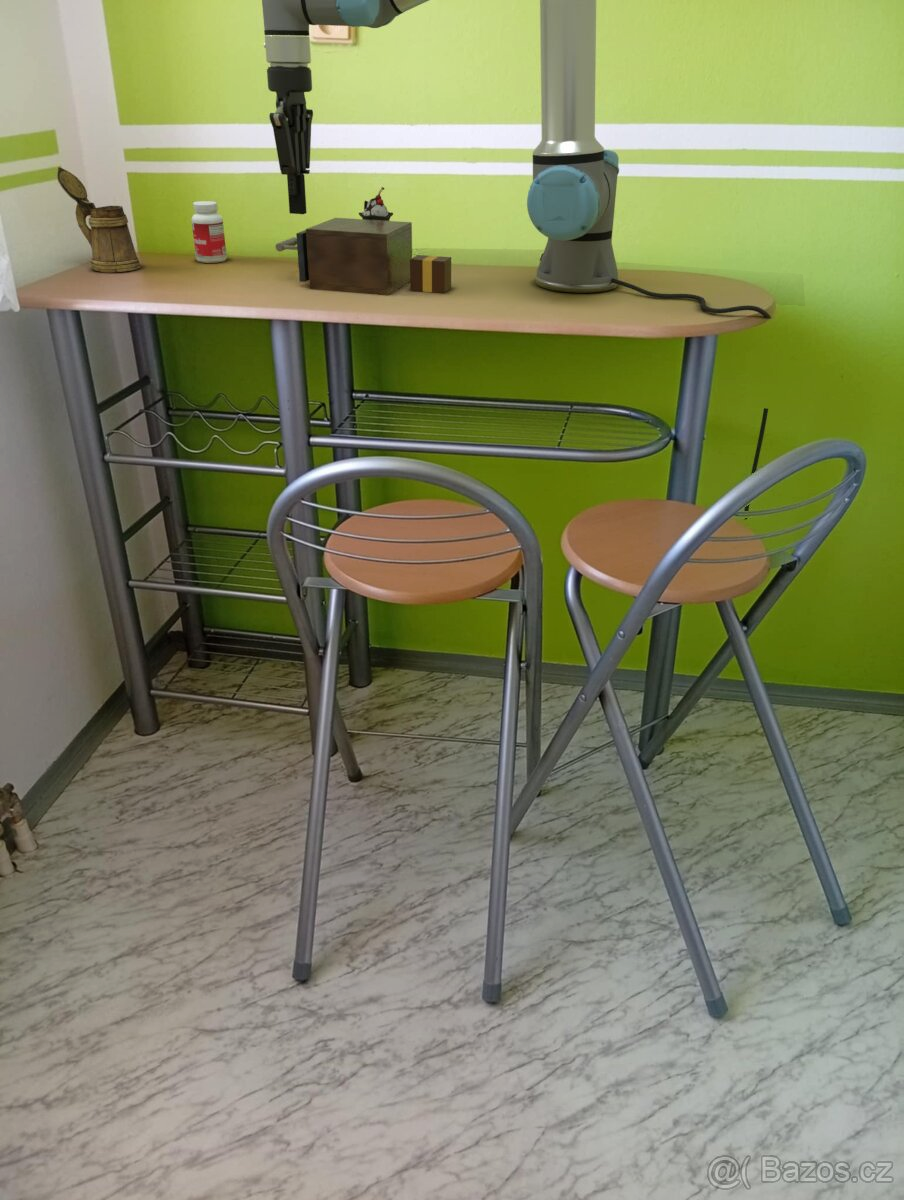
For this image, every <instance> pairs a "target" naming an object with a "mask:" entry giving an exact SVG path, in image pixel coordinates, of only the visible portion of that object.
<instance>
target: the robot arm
mask: <svg viewBox="0 0 904 1200" xmlns="http://www.w3.org/2000/svg"><path fill="white" fill-rule="evenodd" d="M429 1H430V0H261V6H262V17H263V28H264V30H263V31H264V32H263V33H264V42H263V48H264V49H265V58H266V59H265V60H266V62H267V63H268V64H269V65H270V66H267V69H266V78H267V89H268V90H269V91H270V92H273V93H276V94H275V95H276V97H275V108H276V110H275V112H270V113H269V116H268V117H269V122H270V123H271V127H272V130H273V136H274V137H273V138H274V142H275V148H276V154H277V159H278V166H279V170H280V173H281V175H282V176H283V175H285V176H286V179H287V181H286V182H287V195H288V196H287V197H288V211H289V214H290V215H291V214H292V215H294V214H295V215H306V214H307V196H306V181H305V175H309V174H310V173H311V169H310V166H311V146H312V145H311V143H312V142H311V141H312V140H311V139H312V122H313V117H314V111H313V109H310V108H309V109H308V108H307V100H306V94H305V93H310V92H312V90H313V77H312V76H313V75H312V69H311V67H309V64H311V63H312V55H311V54H312V53H311V39H310V26H334V27H335V26H337V27H351V28H355V27H357V28H359V27H366V28H370V29H380V28H382V27H386V26H387V25H388V26H389V24H391V23H392V22H393V21H394V20H395V18H396V17H399V16H400V15H402V14H404V13H405V12H408V11H410V10H412V9H414V8H416V7H418V6H420V5H422V4H425V3H428V2H429ZM539 33H540V35H539V37H540V38H539V39H540V43H539V45H540V47H539V48H540V101H541V102H540V104H541V105H540V109H541V111H540V112H541V113H540V115H541V116H540V118H541V121H540V122H541V125H540V126H541V127H540V128H541V140H540V142H539V143H538V145H537V146H536V147H535V149H533V151H532V182H531V183H530V185H529V189H528V193H527V198H526V208H527V209H526V210H527V213H528V216H529V219H530V222H531V223H532V225H533V226H534V228H535V229H536V230H537V231H538V232H539V233H540V234H541V235H543V236H545V237H546V238H547V242H546V244H545V247H544V250H543V252H542V254H541V256H540V257H539V264H538V267H537V270H536V274H535V284H536V285H537V286H538V287H541V288H543V289H546V290H550V291H554V292H555V291H556V292H563V293H574V294H575V293H576V294H584V293H585V294H586V293H587V294H591V293H601V292H608V291H612V290H614V289H616V288H617V287H618V286H621V287H625V288H627V289H629V290H633V291H635V292H638V293H640V294H642V295H645V296H648V297H653V298H657V299H689V300H695V301H699V302H700V308H701V309H702V310H703V311H705V312H708V313H711V314H729V313H734V312H740V311H752V312H755V313H759V314H760V315H762V316H763V317H764V319H768V320H769V319H772V317H771V315H770V314H769V312H767V310H765V309H764V308H761V307H759V306H756V305H750V304H749V305H738V306H732V307H725V308H716V307H715V308H714V307H710V306H708V305H706V300H705V298H704V297H703V296H700V295H696V294H691V293H661V292H654V291H649V290H647V289H644V288H642V287H639V286H637V285H635V284H632V283H629V282H626V281H623V280H619V271H618V266H617V262H616V257H615V252H614V247H613V242H612V241H613V231H614V230H613V229H614V218H615V207H616V198H617V197H616V195H617V184H618V176H619V173H620V167H619V159H620V158H619V155H618V154H617V152H615V151H614V150H609V149H605V148H604V146H603V145H602V144H601V143H600V142H599V141H598V139H597V138H596V71H597V70H596V66H597V65H596V64H597V63H596V62H597V61H596V59H597V0H539ZM768 412H769V408H765V407H764V408H763V412H762V418H761V422H760V429H759V433H758V439H757V443H756V449H755V454H754V459H753V463H752V468H751V473H750V475H751V474H752V473H754V472H755V471H756V472H757V469H758V464H759V460H760V455H761V450H762V445H763V441H764V437H765V435H764V434H765V430H766V424H767V419H768V414H769V413H768ZM750 504H751V503H750ZM750 504H749V505H748V506H746V507H745V506H744V510H743V512H744V511H748V512H749V509H750ZM744 520H745V521H746V520H748V517H747V518H745V519H744Z"/></svg>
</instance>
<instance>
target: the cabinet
mask: <svg viewBox="0 0 904 1200" xmlns="http://www.w3.org/2000/svg"><path fill="white" fill-rule="evenodd" d="M305 230H306V240H307V255H308V271H309V281H308V283H309V284H308V286H309V289H310V290H322V291H334V292H345V293H346V292H347V293H357V294H369V295H371V294H372V295H381V296H383V295H385V296H389V295H391V294H392V293H394V292H395V291H397V290H399V289H400V288H402V287H403V286H405V285H407V284H408V283H410V259H411V258H413V223H412V221H396V220H390V221H382V220H365V219H362V218H348V217H333V218H331V219H328V220H326V221H324V222H320V223H318V224H315V225H313V226H309V227H307V228H305Z"/></svg>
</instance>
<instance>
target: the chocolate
mask: <svg viewBox="0 0 904 1200" xmlns="http://www.w3.org/2000/svg"><path fill="white" fill-rule="evenodd" d="M409 283H410V284H409V285H410V286H409V289H410V291H412V292H422V293H436V294H446V292H447V293H448V292H449V291H450V290H451V289H452V256H442V255H441V256H439V255H426V254H425V255H424V254H416V255H415V256H412V258H411V259H410V282H409Z"/></svg>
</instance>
